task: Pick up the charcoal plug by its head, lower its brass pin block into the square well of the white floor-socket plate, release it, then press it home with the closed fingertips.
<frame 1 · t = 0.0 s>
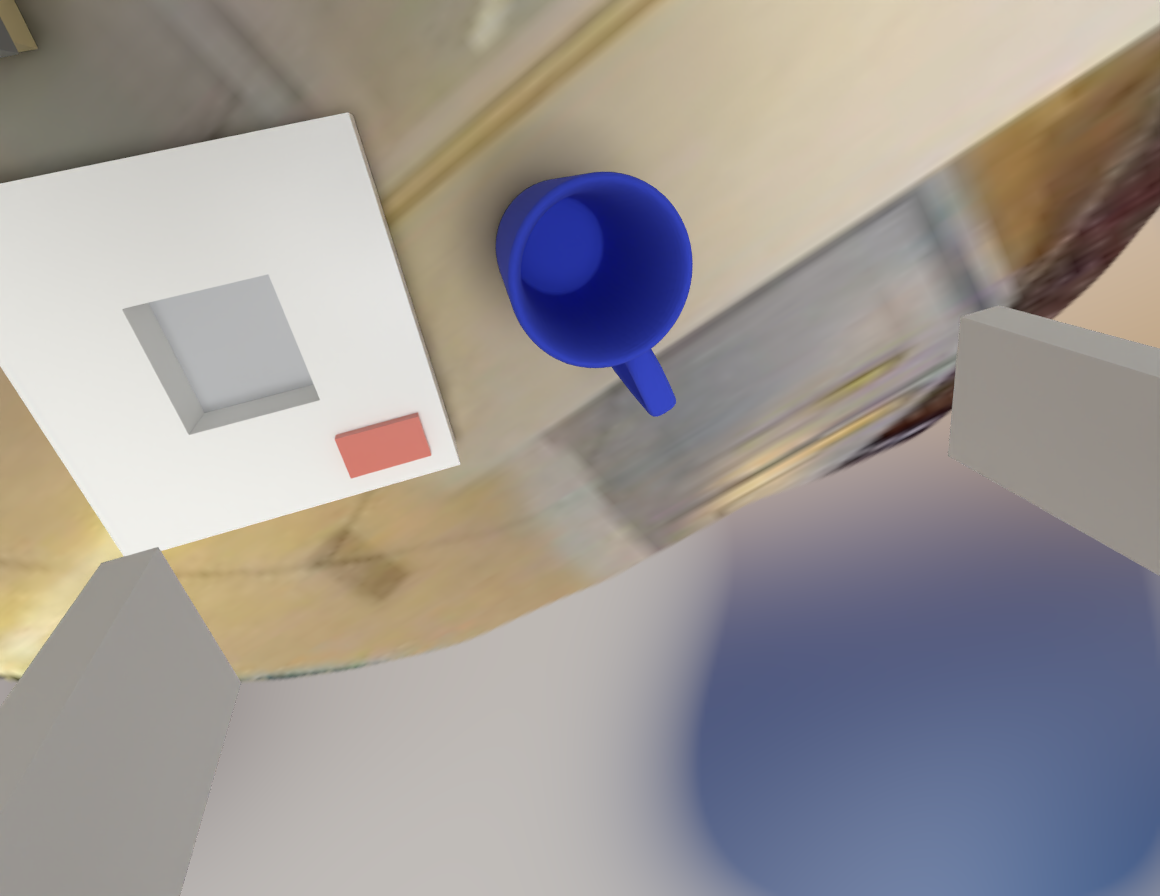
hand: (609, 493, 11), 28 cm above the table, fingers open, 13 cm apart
socket plate: (242, 338, 34), on the table
mug: (568, 274, 37), on the table
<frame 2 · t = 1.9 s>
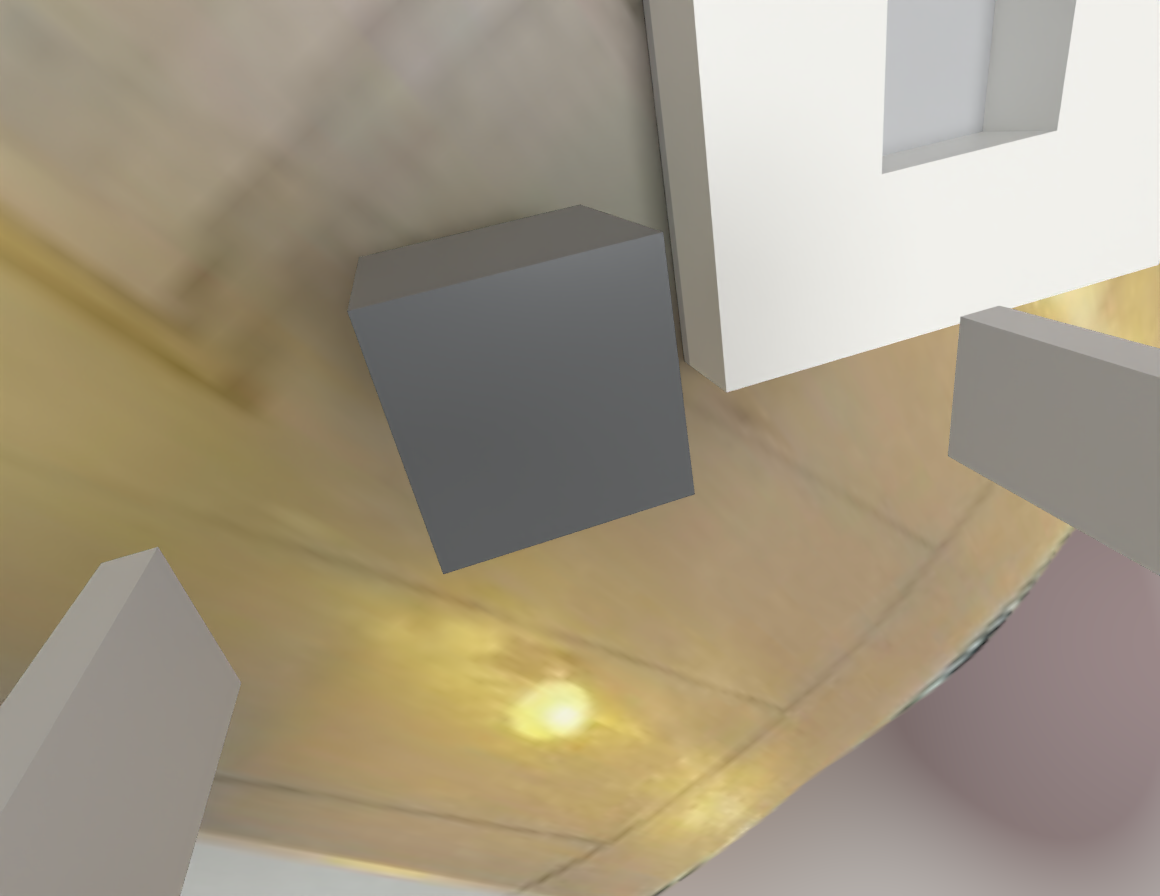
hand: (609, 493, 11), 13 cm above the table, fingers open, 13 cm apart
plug: (481, 306, 22), on the table
socket plate: (899, 47, 22), on the table
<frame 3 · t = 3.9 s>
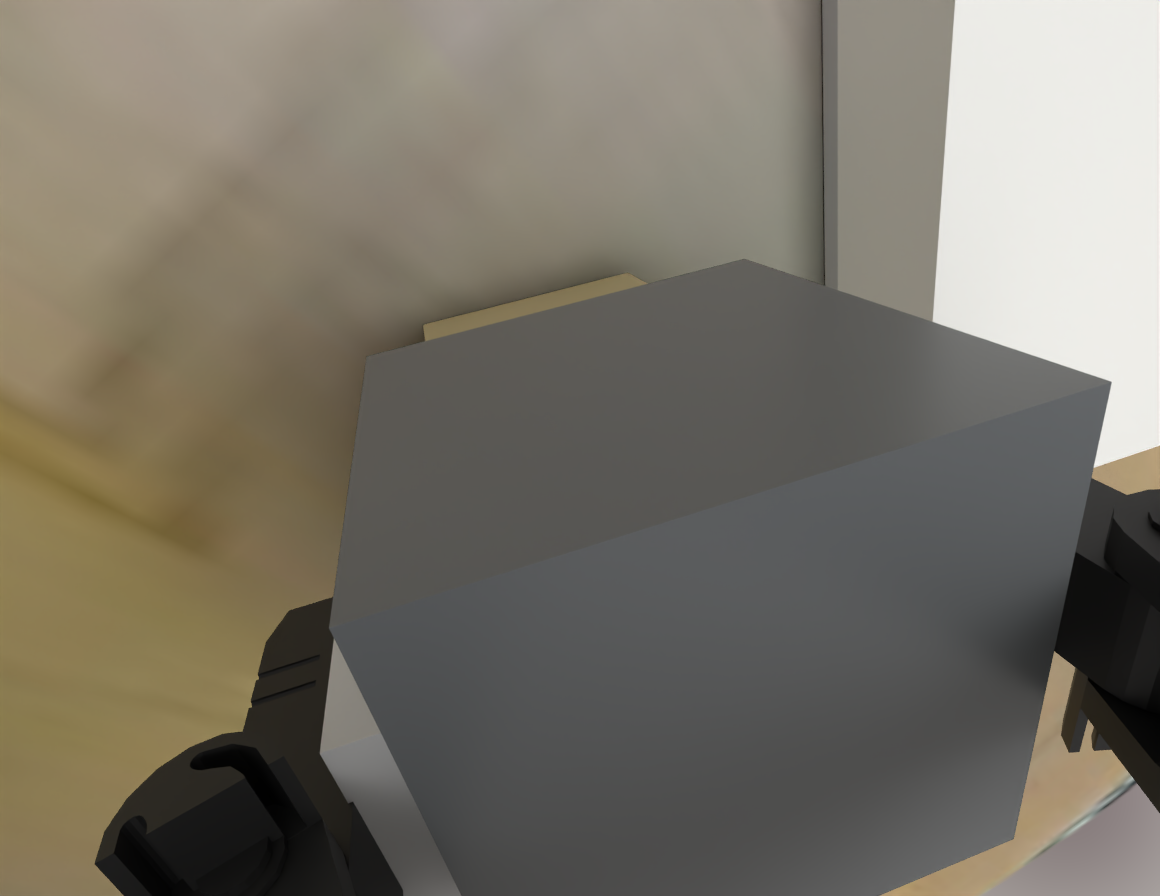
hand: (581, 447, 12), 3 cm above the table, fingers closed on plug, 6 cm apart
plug: (549, 394, 15), on the table, touching gripper
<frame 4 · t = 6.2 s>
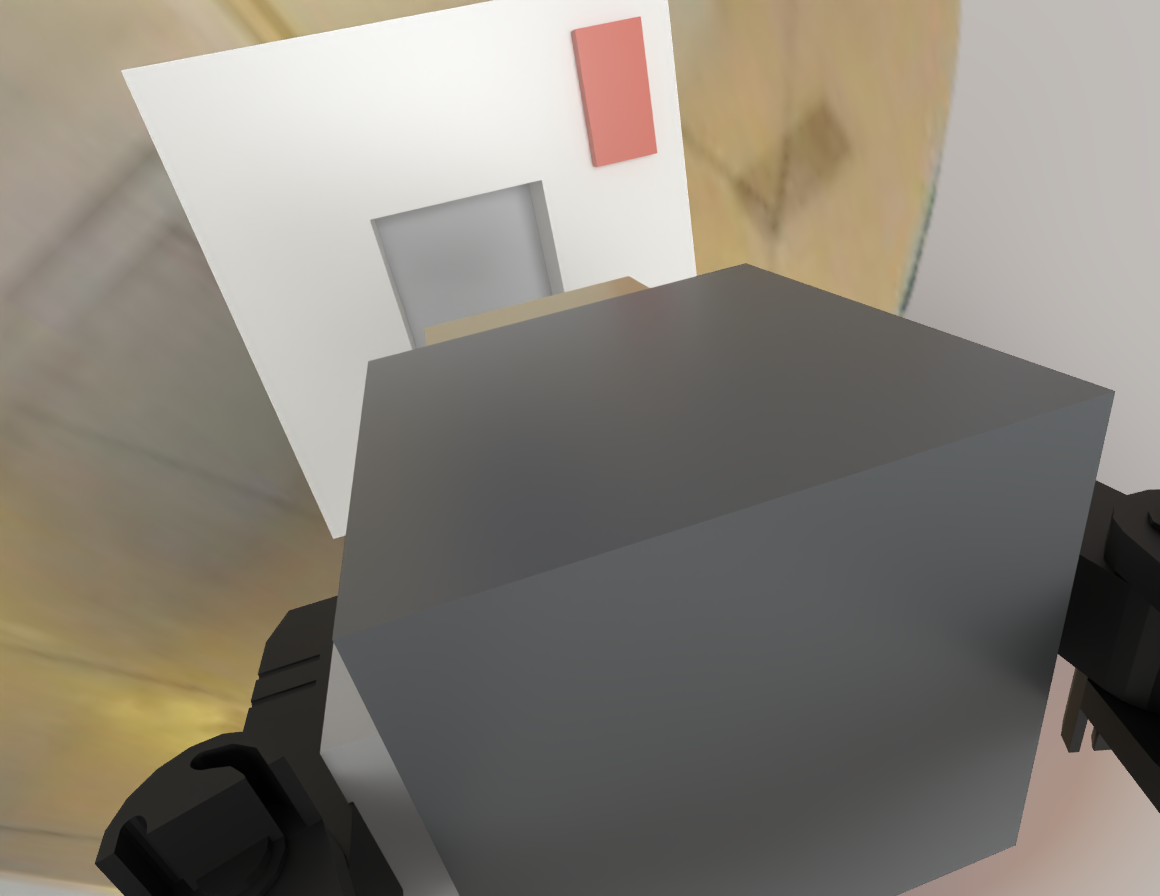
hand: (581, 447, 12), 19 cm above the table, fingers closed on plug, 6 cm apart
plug: (550, 397, 15), point 16 cm above the table, touching gripper
socket plate: (470, 270, 28), on the table
when the fingers open (5 cm above the table, at t = 8.6 s): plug drops 1 cm, resting on socket plate.
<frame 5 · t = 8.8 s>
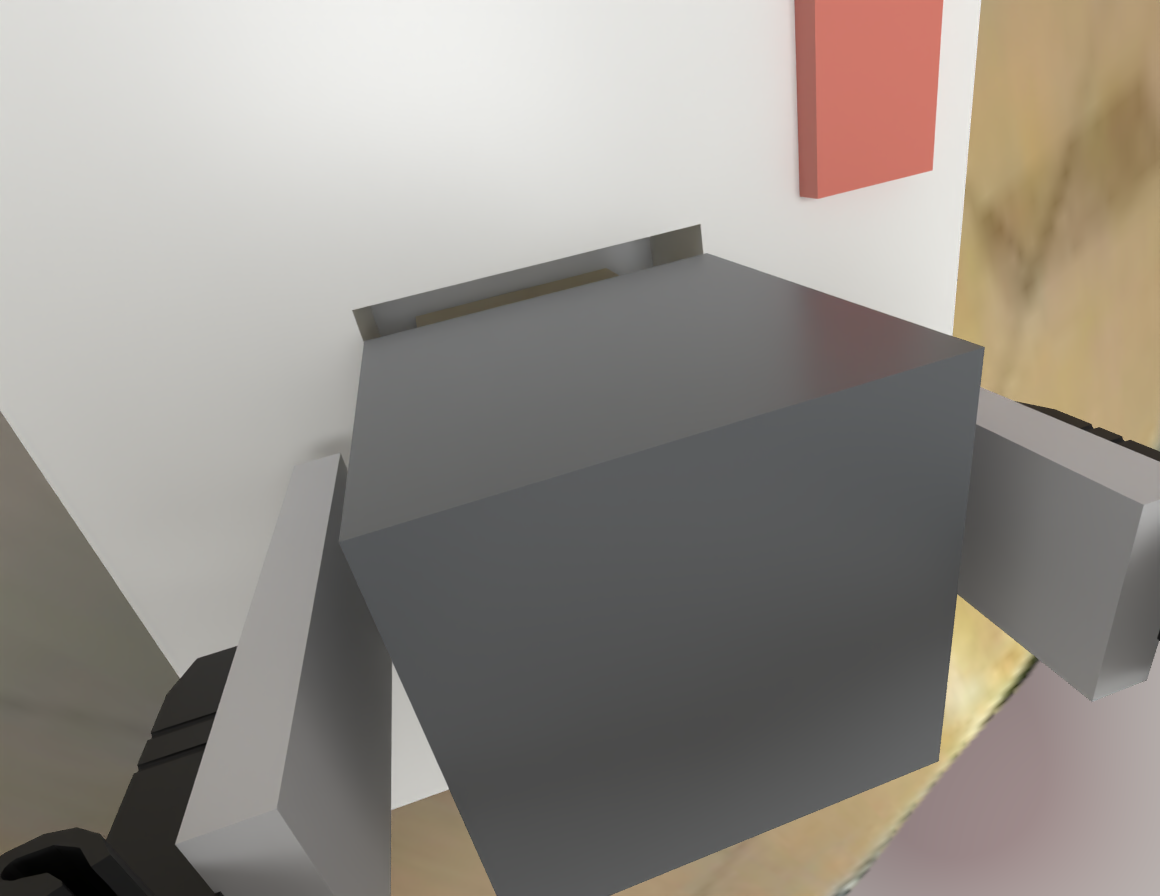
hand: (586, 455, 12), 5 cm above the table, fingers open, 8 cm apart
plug: (534, 382, 16), point 1 cm above the table, touching socket plate
socket plate: (535, 371, 16), on the table
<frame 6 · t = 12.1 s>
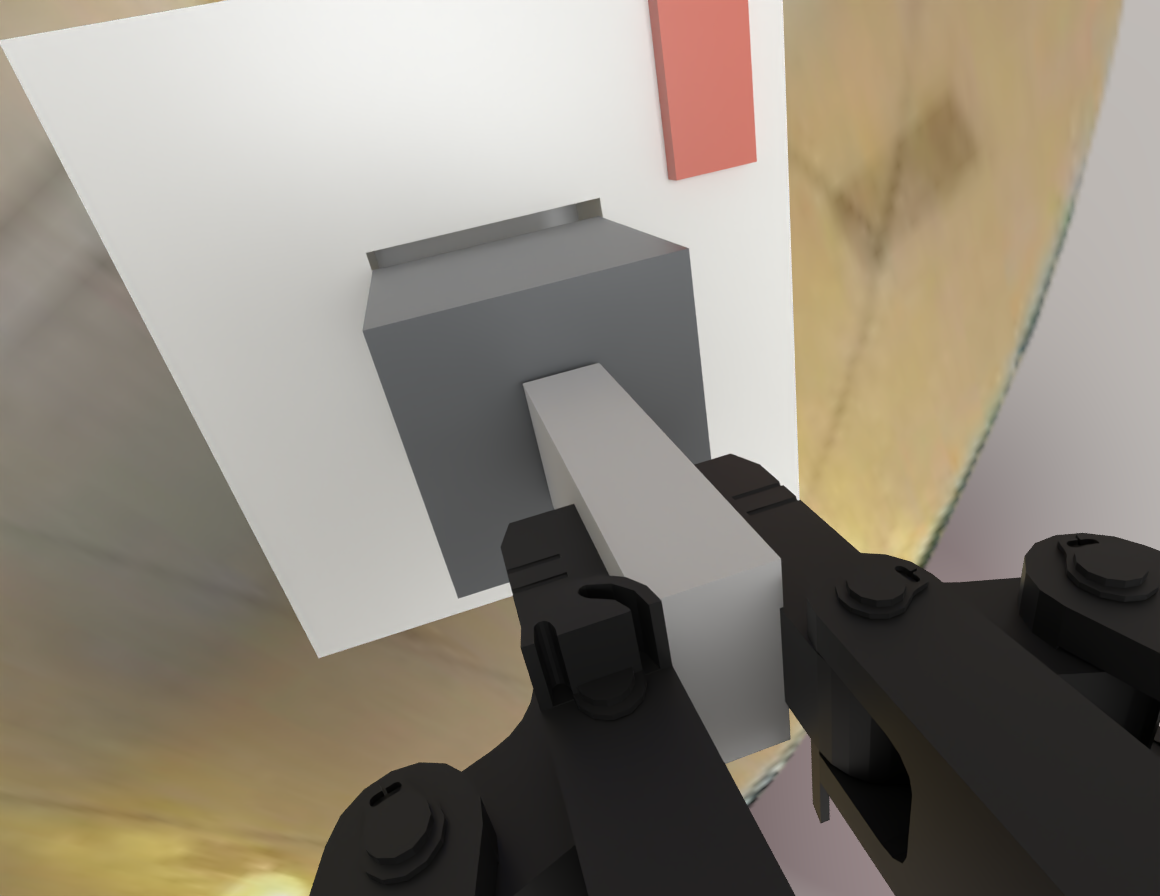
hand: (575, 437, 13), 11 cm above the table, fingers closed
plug: (495, 317, 22), point 1 cm above the table, touching gripper, socket plate
socket plate: (497, 311, 22), on the table
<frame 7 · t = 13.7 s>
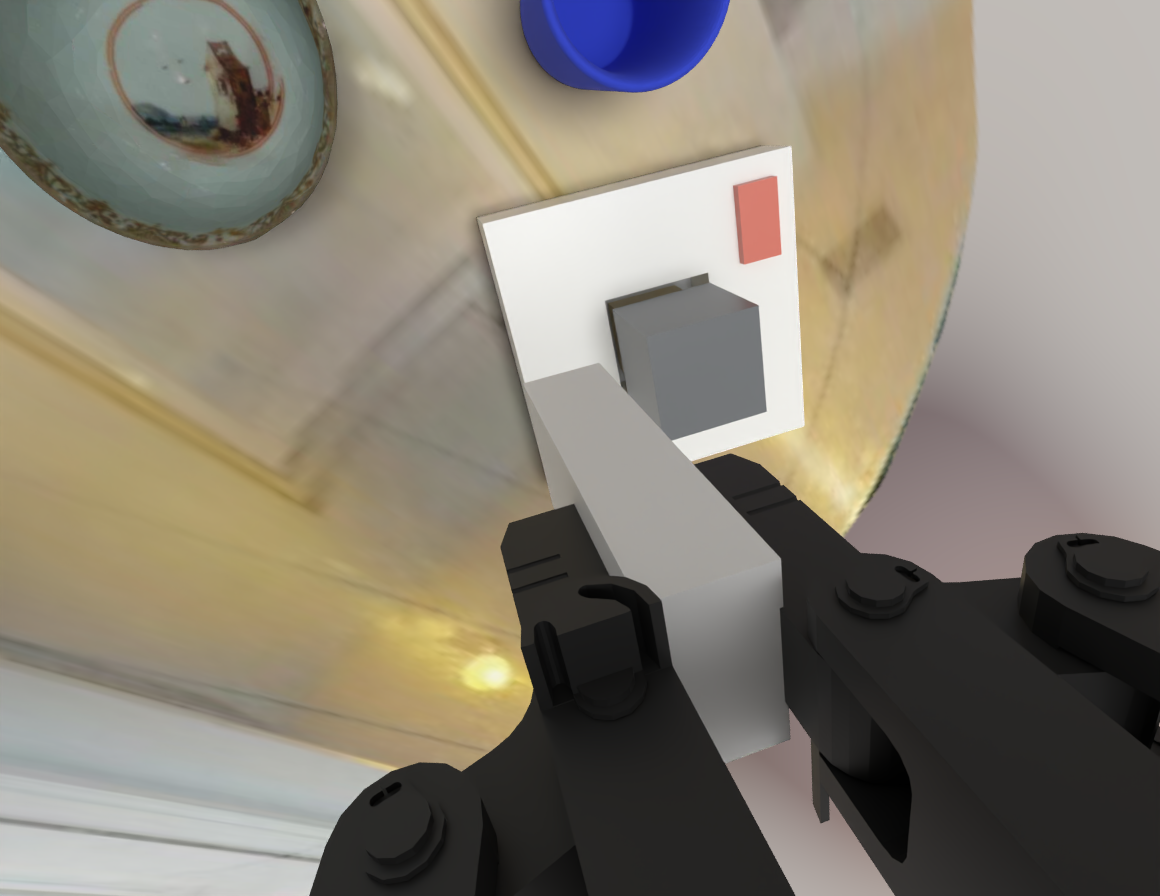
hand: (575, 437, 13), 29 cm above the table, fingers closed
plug: (646, 327, 42), resting on socket plate
socket plate: (646, 324, 43), on the table
bowl: (211, 84, 32), on the table
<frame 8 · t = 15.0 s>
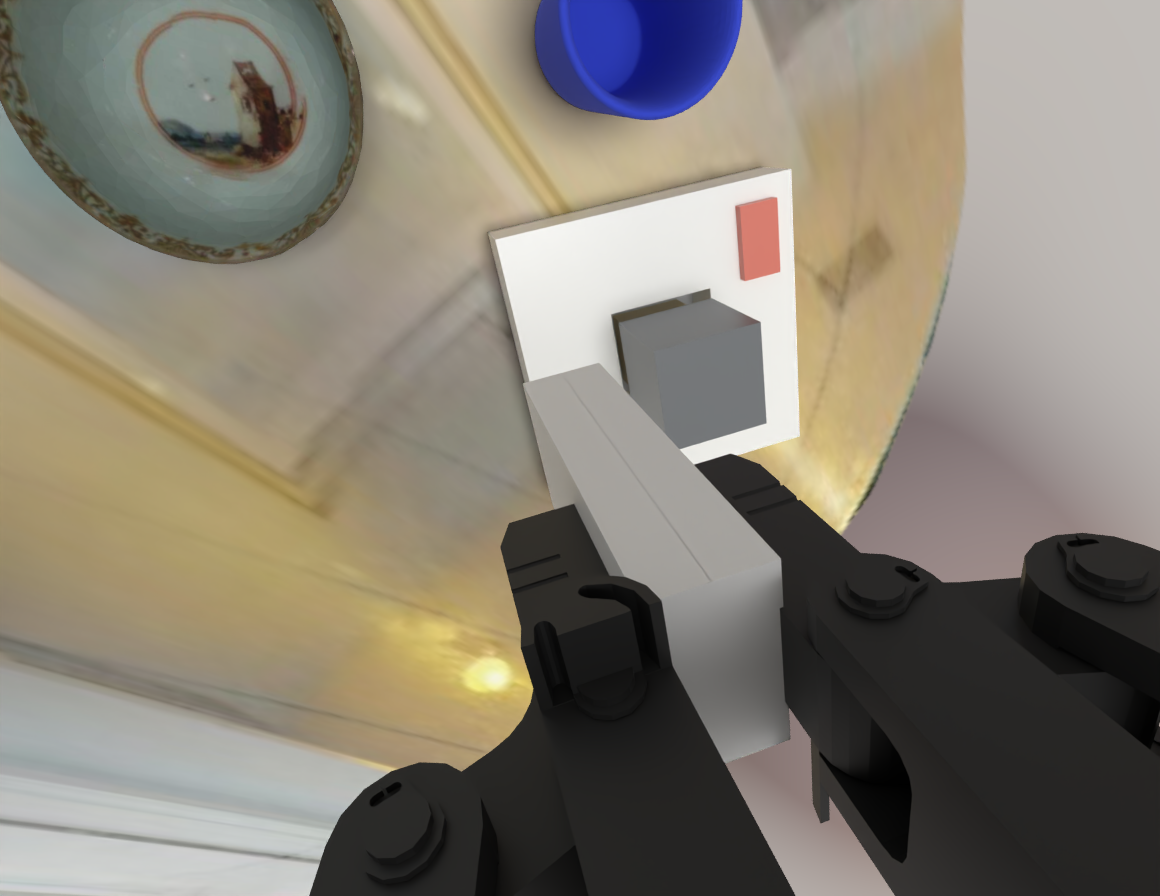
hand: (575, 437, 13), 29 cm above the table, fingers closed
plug: (649, 339, 44), resting on socket plate
socket plate: (648, 336, 44), on the table
bowl: (234, 101, 33), on the table
mug: (620, 25, 36), on the table
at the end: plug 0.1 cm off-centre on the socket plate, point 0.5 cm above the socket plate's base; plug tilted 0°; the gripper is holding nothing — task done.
